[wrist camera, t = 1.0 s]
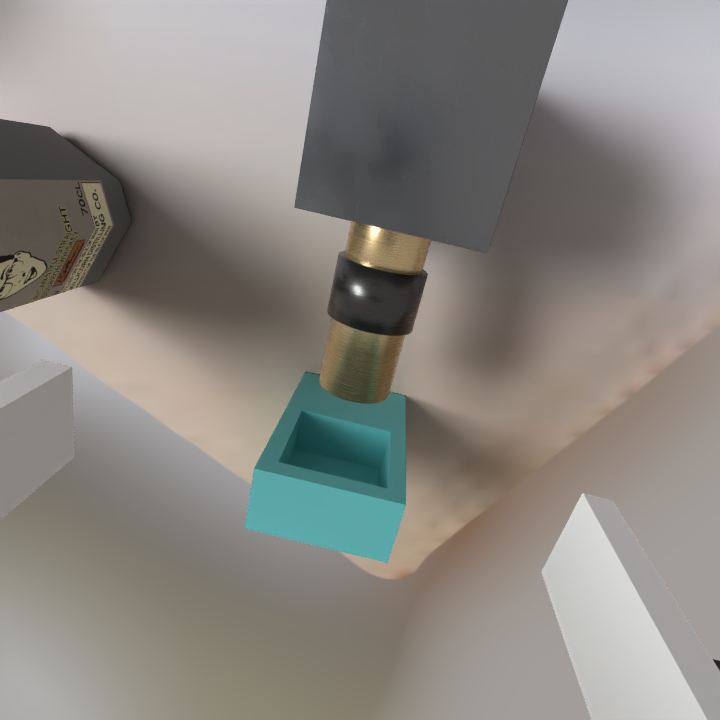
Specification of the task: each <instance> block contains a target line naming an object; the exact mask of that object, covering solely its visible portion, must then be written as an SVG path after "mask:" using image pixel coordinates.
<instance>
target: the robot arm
mask: <svg viewBox="0 0 720 720" xmlns="http://www.w3.org/2000/svg"><path fill="white" fill-rule="evenodd" d="M72 387H73V385H72V367H70V366H66V365H62V364H58V363H54V362H50V361H46V360H41V361H39V362H37V363H35V364H33V365H31V366H29V367H27V368H25V369H23V370H21V371H19V372H17V373H15V374H13V375H11V376H9V377H7V378H6V379H3V380H2V381H0V520H1V519H2V518H3V517H5V516H6V515H7V514H8V513H9V512H10V511H11V510H13V509H14V508H15V507H16V506H17V505H18V504H20V503H21V502H22V501H23V500H24V499H26V498H27V497H28V496H29V495H30V494H31V493H33V492H34V491H35V490H36V489H37V488H38V487H40V486H41V485H42V484H43V483H44V482H45V481H47V480H48V479H49V478H50V477H51V476H52V475H53V474H55V473H56V472H57V471H58V470H59V469H61V468H62V467H63V466H64V465H65V464H66V463H68V462H69V461H70V460H71V459H72V458H74V456H75V455H74V422H73V421H74V420H73V388H72ZM542 575H543V578H544V581H545V584H546V587H547V590H548V593H549V596H550V599H551V602H552V605H553V608H554V611H555V614H556V617H557V620H558V622H559V625H560V629H561V632H562V634H563V637H564V640H565V643H566V646H567V649H568V652H569V655H570V658H571V661H572V664H573V667H574V670H575V673H576V676H577V679H578V682H579V685H580V688H581V691H582V694H583V697H584V700H585V703H586V706H587V709H588V712H589V715H590V718H591V720H720V661H718V660H714V659H712V658H711V656H710V655H709V653H708V651H707V650H706V648H705V647H704V645H703V644H702V642H701V640H700V639H699V637H698V635H697V634H696V632H695V631H694V629H693V628H692V626H691V624H690V623H689V621H688V619H687V618H686V616H685V615H684V613H683V612H682V610H681V608H680V607H679V605H678V604H677V602H676V600H675V599H674V597H673V596H672V594H671V592H670V591H669V589H668V588H667V586H666V584H665V583H664V581H663V580H662V578H661V576H660V575H659V573H658V572H657V570H656V569H655V567H654V565H653V564H652V562H651V561H650V559H649V557H648V556H647V554H646V553H645V551H644V549H643V548H642V546H641V545H640V543H639V541H638V540H637V538H636V537H635V535H634V533H633V532H632V530H631V529H630V527H629V526H628V524H627V522H626V521H625V519H624V518H623V516H622V515H621V513H620V511H619V510H618V508H617V506H616V505H615V503H614V502H613V500H610V499H606V498H602V497H598V496H594V495H590V494H586V493H582V495H581V497H580V499H579V501H578V503H577V505H576V507H575V508H574V511H573V512H572V514H571V516H570V518H569V520H568V522H567V524H566V526H565V528H564V530H563V532H562V534H561V535H560V537H559V539H558V541H557V543H556V545H555V547H554V549H553V551H552V552H551V554H550V556H549V558H548V560H547V562H546V564H545V566H544V568H543V570H542Z"/></svg>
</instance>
